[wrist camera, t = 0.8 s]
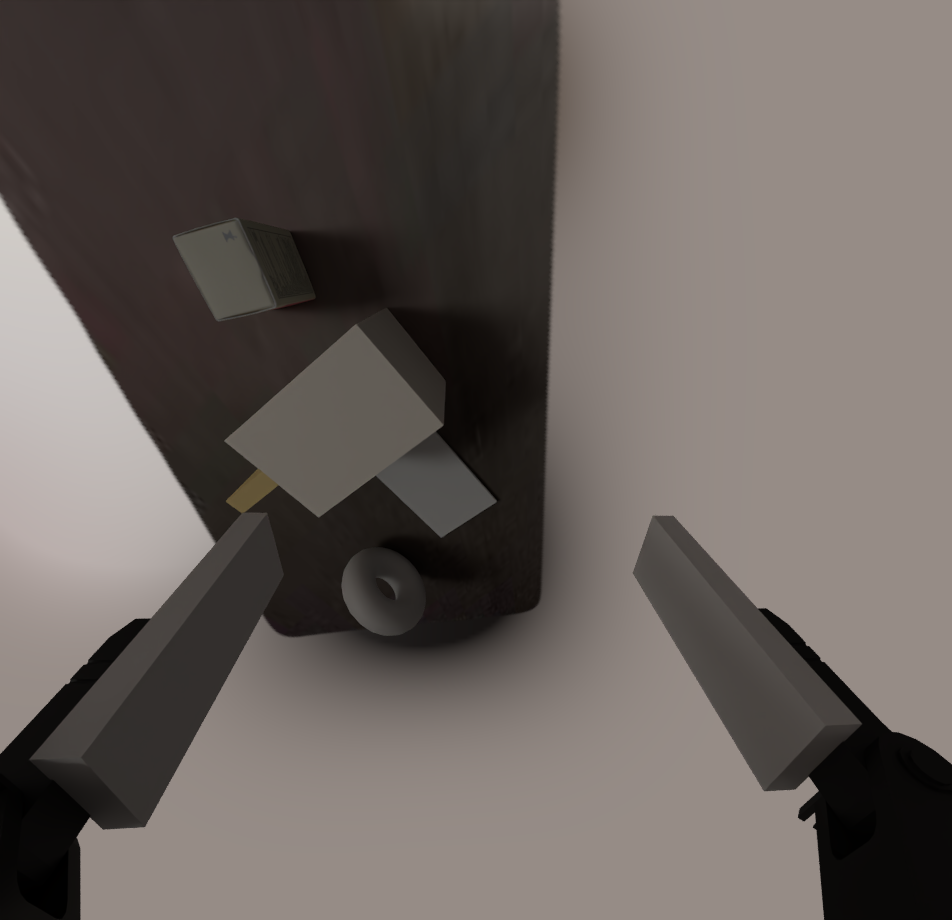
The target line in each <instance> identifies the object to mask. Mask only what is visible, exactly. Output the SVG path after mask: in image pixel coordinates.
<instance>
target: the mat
mask: <svg viewBox="0 0 952 920" xmlns="http://www.w3.org/2000/svg"><path fill="white" fill-rule="evenodd" d="M376 476H377V477H378V478H379V479H380V480H381V481H382V482H383V483H384V484H385V485H386V486H387V487H388V488H390V489H391V490H392V491H393V492H394V493H395V494H396V495H397V496H398V497H399V498H400V499H401V500H402V501H403V502H404V503H405V504H406V505H407V506H408V507H409V508H411V509H412V510H413V511H414V512H415V513H416V514H417V515H418V516H419V517H420V518H421V519H422V520H423V521H424V522H425V523H426V524H427V525H428V526H429V527H430V528H432V529H433V530H434V531H435V532H436V533H437V534H438V535H439V536H440V537H443V536H445V535H446V534H448V533H449V532H451V531H452V530H454V529H455V528H457V527H459V526H460V525H462V524H463V523H465V522H466V521H468V520H469V519H471V518H473V517H474V516H476V515H477V514H479V513H480V512H482V511H483V510H485V509H487V508H488V507H490V506H491V505H493V504H494V503H496V502H497V500H496V499H495V498H494V496H493V495H492V494H491V493H490V492H489V491H488V490H487V488H486V487H485V486H484V485H483V484H482V483H481V482H480V481H479V479H478V478H477V477H476V476H475V475H474V474H473V473H472V472H471V470H470V469H469V468H468V467H467V466H466V465H465V464H464V462H463V461H462V460H461V459H460V458H459V457H458V456H457V455H456V453H455V452H454V451H453V450H452V449H451V448H450V447H449V445H448V444H447V443H446V442H445V441H444V440H443V439H442V438H441V436H440V435H439V434H438V433H437V432H436V431H435V432H434V433H433V434H431V435H430V436H429V437H427V438H426V439H424V440H423V441H422V442H420V443H419V444H418V445H416V446H415V447H414V448H412V449H411V450H409V451H408V452H407V453H405V454H404V455H403V456H401V457H400V458H399V459H397V460H396V461H395V462H393V463H392V464H390V465H389V466H388V467H386V468H385V469H384V470H382V471H381V472H380V473H378V474H377V475H376Z"/></svg>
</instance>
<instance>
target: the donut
mask: <svg viewBox="0 0 952 920" xmlns="http://www.w3.org/2000/svg"><path fill="white" fill-rule="evenodd" d="M376 577H377V578H382V579H384V580H385V581H387V582H388V583H389V584H390V585H391V586H392V588H393V590H394V592H395V595H396V600H391V599H388V598H387V597H386V596H384V595H383V594H382V592H381V591H380V590H379V588H378V587H377V584H376ZM342 592H343V598H344V601H345V603H346V605H347V607H348V609H349V611H350V613H351V614H352V615H353V616H354V617H355V619H356V620H357V621H358V622H359V623H360V624H361V625H362V626H364V627H365V628H367V629H368V630H370V631H371V632H374V633H378V634H381V635H385V636H387V635H388V636H389V635H401V634H402V633H404V632H406V631H408V630H410V629H412V628H413V627H414V626H415V625H416V624H417V622H418V621H419V620H420V618H421V617H422V615H423V612H424V608H425V604H426V593H425V588H424V584H423V581H422V578H421V576H420V575H419V573H418V571H417V570H416V568H415V567H414V566H413V565H412V564H411V562H410V561H409V560H408V559H406V558H405V557H404V556H402V555H401V554H400V553H398V552H395V551H393V550H391V549H388V548H382V547H373V548H368V549H364V550H362V551H361V552H359V553H358V554H356V555H355V556H353V557H352V558H351V560H350V561H349V563H348V565H347V566H346V568H345V569H344V573H343V579H342Z"/></svg>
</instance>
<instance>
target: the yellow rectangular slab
mask: <svg viewBox="0 0 952 920" xmlns="http://www.w3.org/2000/svg"><path fill="white" fill-rule="evenodd" d="M277 486H278V484H277V483H276V482H274V481H273V480H272V479H271V478H269V477H268V476H267V475H266V474H264V473H263V472H262V471H261V470H260V469H257V470H256V471H255V472H254V473H253V474H252V475H251V476H250V477H249V478H248V479H247V480H246V481H245V482H244V483H243V484H242V485H241V486H240V487H239V488H238V489H237V490H236V491H235V492H234V493H233V494H232V495H231V496H230V497H229V498H228V499H227V501H226V502H227V503H229V504H230V505H231V506H233V507H234V508H235V509H237V510H238V511H240V512H241V513H244V512H245V511H247V510H248V509H249V508H250V507H252V506H253V505H254V504H255V503H257V502H258V501H259V500H260V499H262V498H263V497H264V496H265V495H267V494H268V493H269V492H270V491H272V490H273V489H274V488H275V487H277Z"/></svg>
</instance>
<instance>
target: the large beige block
mask: <svg viewBox="0 0 952 920" xmlns="http://www.w3.org/2000/svg"><path fill="white" fill-rule="evenodd" d="M445 390H446V381H445V379H444V378H443V377H442V376H441V374H440V373H439V372H438V371H437V369H436V368H435V367H434V366H433V364H432V363H431V362H430V361H429V359H428V358H427V357H426V356H425V354H424V353H423V352H422V351H421V349H420V348H419V347H418V346H417V344H416V343H415V342H414V341H413V340H412V338H411V337H410V336H409V335H408V333H407V332H406V331H405V330H404V328H403V327H402V326H401V325H400V323H399V322H398V321H397V320H396V318H395V317H394V316H393V315H392V313H391V312H390V311H389V310H388V308H385V309H383V310H381V311H379V312H377V313H375V314H374V315H372V316H370V317H368V318H366V319H364V320H363V321H361V322H359V323H357V324H356V325H354V326H353V327H352V328H351V329H350V330H349V331H348V332H347V333H345V334H344V335H343V336H342V337H341V338H340V339H339V340H338V341H336V342H335V343H334V344H333V345H332V346H331V347H330V348H329V349H327V350H326V351H325V352H324V353H323V354H322V355H321V356H320V357H318V358H317V359H316V360H315V361H314V362H313V363H312V364H310V365H309V366H308V367H307V368H306V369H305V370H304V371H303V372H301V373H300V374H299V375H298V376H297V377H296V378H295V379H294V380H292V381H291V382H290V383H289V384H288V385H287V386H286V387H285V388H283V389H282V390H281V391H280V392H279V393H278V394H277V395H276V396H274V397H273V398H272V399H271V400H270V401H269V402H268V403H266V404H265V405H264V406H263V407H262V408H261V409H260V410H259V411H257V412H256V413H255V414H254V415H253V416H252V417H251V418H250V419H248V420H247V421H246V422H245V423H244V424H243V425H242V426H241V427H239V428H238V429H237V430H236V431H235V432H234V433H233V434H232V435H230V436H229V437H228V438H227V439H226V440H225V442H226V443H228V444H229V445H230V446H231V447H232V448H234V449H235V450H236V451H237V452H239V453H240V454H241V455H242V456H244V457H245V458H246V459H247V460H248V461H250V462H251V463H252V464H253V465H255V466H256V467H257V468H258V469H260V470H261V471H262V472H263V473H264V474H266V475H267V476H268V477H269V478H271V479H272V480H273V481H274V482H276V483H277V484H278V485H279V486H280V487H282V488H283V489H284V490H285V491H287V492H288V493H289V494H290V495H292V496H293V497H294V498H295V499H297V500H298V501H299V502H300V503H301V504H303V505H304V506H305V507H306V508H308V509H309V510H310V511H311V512H313V513H314V514H315V515H316V516H317V517H320V516H321V515H322V514H324V513H325V512H327V511H328V510H329V509H331V508H332V507H333V506H335V505H336V504H337V503H339V502H340V501H342V500H343V499H344V498H346V497H347V496H348V495H350V494H351V493H352V492H354V491H355V490H356V489H358V488H359V487H361V486H362V485H363V484H365V483H366V482H367V481H369V480H370V479H371V478H373V477H374V476H375V475H377V474H378V473H380V472H381V471H382V470H384V469H385V468H386V467H388V466H389V465H390V464H392V463H393V462H395V461H396V460H397V459H399V458H400V457H401V456H403V455H404V454H405V453H407V452H408V451H409V450H411V449H412V448H414V447H415V446H416V445H418V444H419V443H420V442H422V441H423V440H424V439H426V438H427V437H429V436H430V435H431V434H433V433H434V432H435V431H437V430H438V429H439V428H441V427H442V426H443V425H444V409H445Z"/></svg>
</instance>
